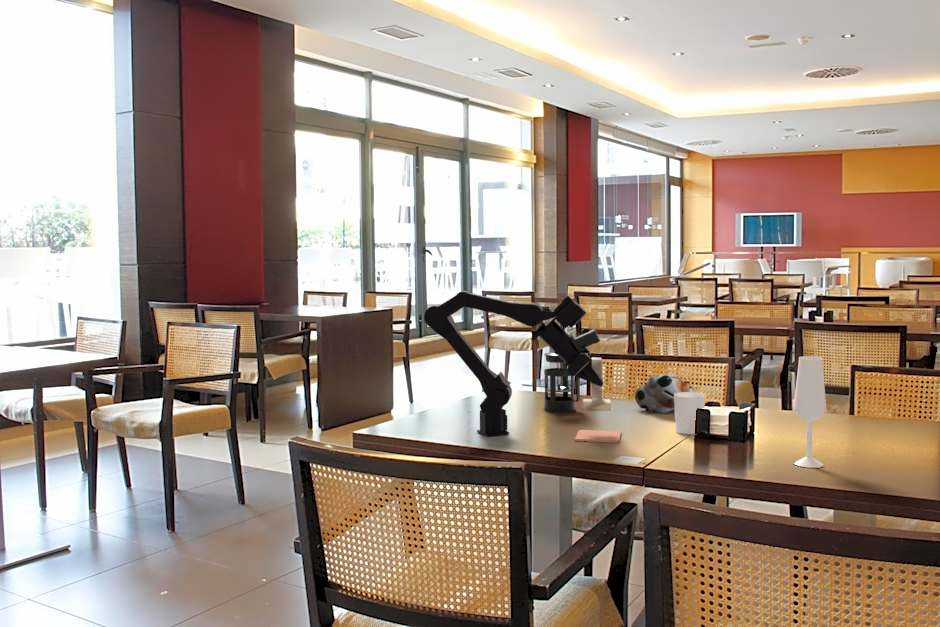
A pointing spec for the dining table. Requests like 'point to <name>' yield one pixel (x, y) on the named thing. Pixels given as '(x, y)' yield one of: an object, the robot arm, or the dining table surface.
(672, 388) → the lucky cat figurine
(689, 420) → the white cup
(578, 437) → the terracotta mat
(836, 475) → the dining table surface
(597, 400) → the table number stand
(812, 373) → the champagne flute
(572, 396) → the french press
